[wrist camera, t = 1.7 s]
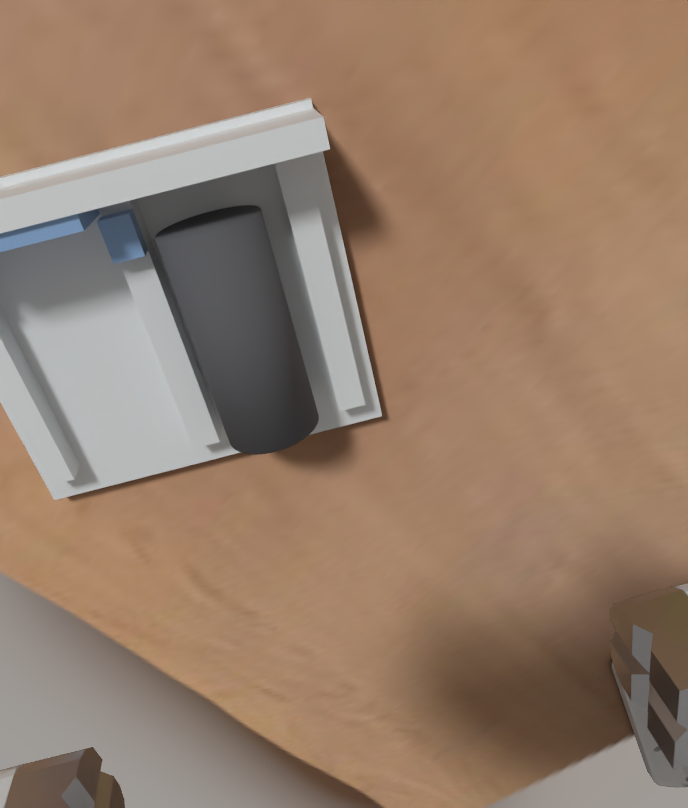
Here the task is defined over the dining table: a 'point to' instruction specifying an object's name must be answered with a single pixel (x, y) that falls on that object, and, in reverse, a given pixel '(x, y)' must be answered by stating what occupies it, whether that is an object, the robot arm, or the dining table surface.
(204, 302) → the gray roller in tray
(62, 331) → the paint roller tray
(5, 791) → the robot arm
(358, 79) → the dining table surface
